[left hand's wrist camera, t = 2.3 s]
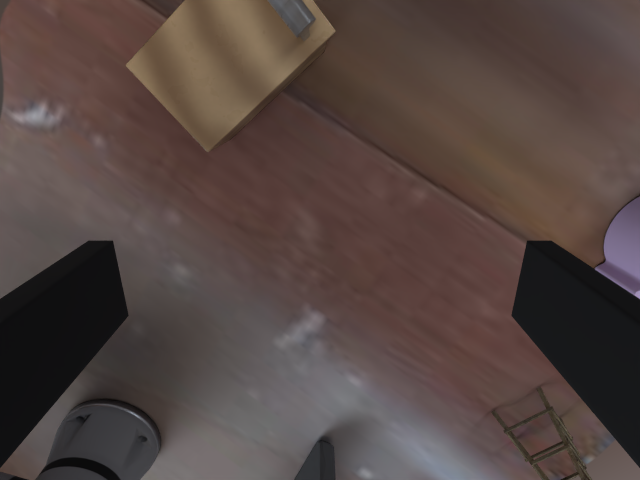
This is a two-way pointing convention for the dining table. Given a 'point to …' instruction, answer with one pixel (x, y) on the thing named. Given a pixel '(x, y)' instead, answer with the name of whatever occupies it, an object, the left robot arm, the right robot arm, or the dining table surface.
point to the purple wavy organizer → (624, 249)
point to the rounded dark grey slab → (319, 463)
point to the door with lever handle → (226, 59)
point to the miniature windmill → (566, 441)
